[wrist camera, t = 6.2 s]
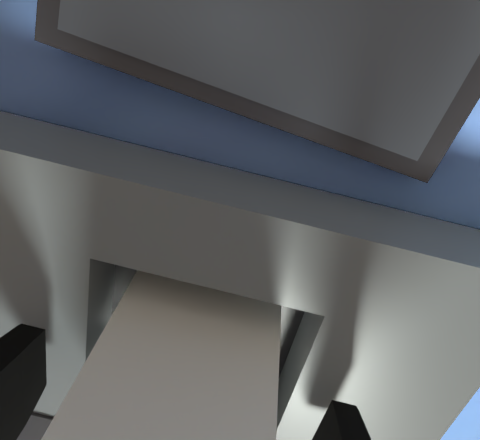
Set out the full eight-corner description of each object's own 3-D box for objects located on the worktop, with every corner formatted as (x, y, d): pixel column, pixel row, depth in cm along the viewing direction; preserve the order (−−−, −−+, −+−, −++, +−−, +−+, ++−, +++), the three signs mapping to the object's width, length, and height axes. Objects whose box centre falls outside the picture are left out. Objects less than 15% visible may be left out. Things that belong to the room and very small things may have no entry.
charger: (249, 385, 14) (214, 703, 8) (131, 356, 14) (-2, 651, 7) (281, 293, 12) (269, 619, 6) (143, 258, 12) (-22, 549, 6)
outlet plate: (347, 492, 16) (354, 556, 14) (-53, 394, 16) (-97, 445, 14) (511, 237, 10) (557, 289, 8) (-117, 81, 10) (-206, 101, 8)
